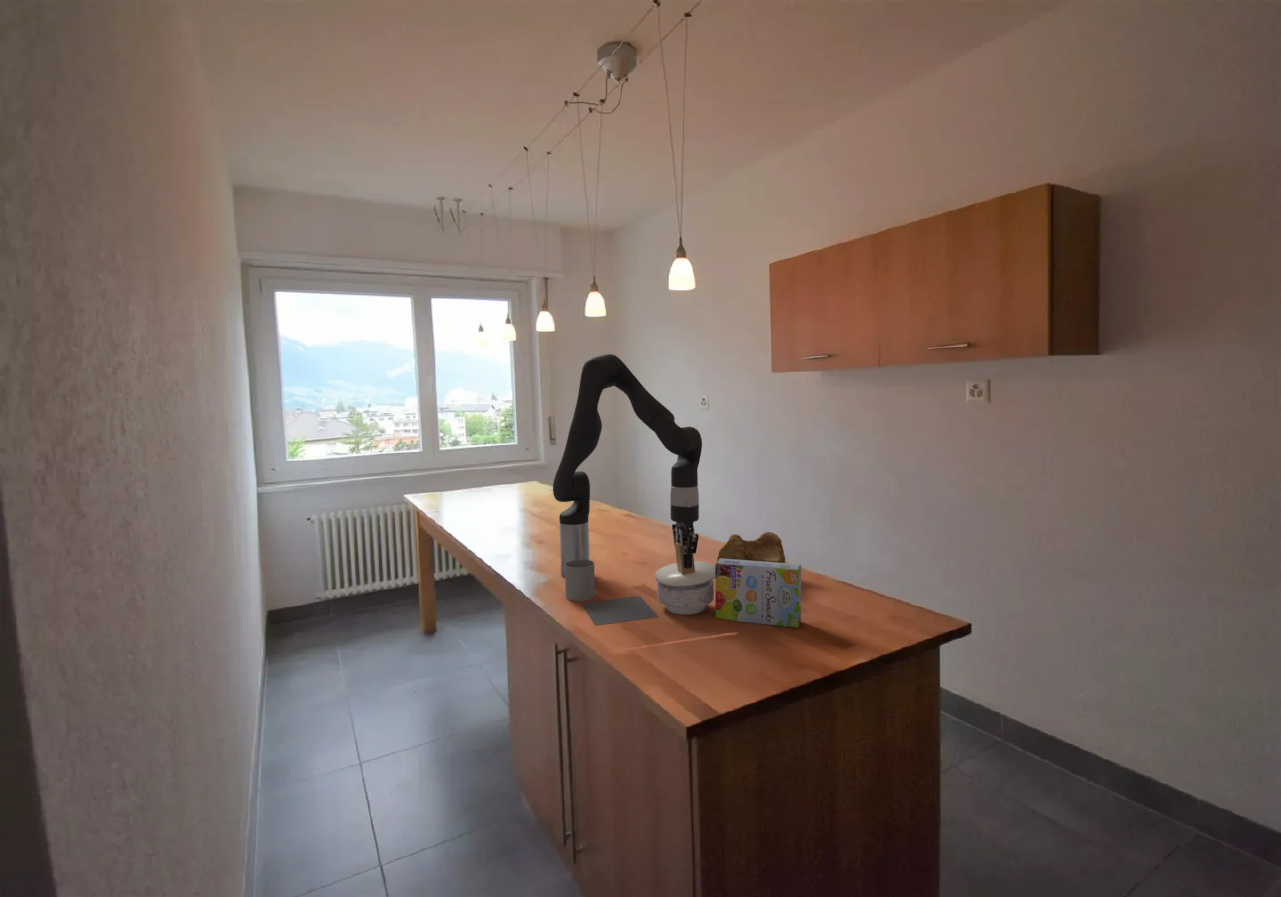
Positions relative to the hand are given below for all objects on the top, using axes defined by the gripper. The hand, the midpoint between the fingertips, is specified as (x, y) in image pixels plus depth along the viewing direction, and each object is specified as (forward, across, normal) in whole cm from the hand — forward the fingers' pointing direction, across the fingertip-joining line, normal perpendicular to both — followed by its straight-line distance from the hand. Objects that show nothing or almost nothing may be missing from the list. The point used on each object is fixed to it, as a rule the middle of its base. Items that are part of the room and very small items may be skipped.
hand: (685, 565), depth 165 cm
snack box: (+12, +13, +14) cm, 23 cm away
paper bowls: (+12, 0, 0) cm, 12 cm away
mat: (+12, -4, -18) cm, 22 cm away
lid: (+3, 0, 0) cm, 3 cm away
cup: (+12, -19, -25) cm, 34 cm away
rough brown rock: (+12, -12, +28) cm, 33 cm away
